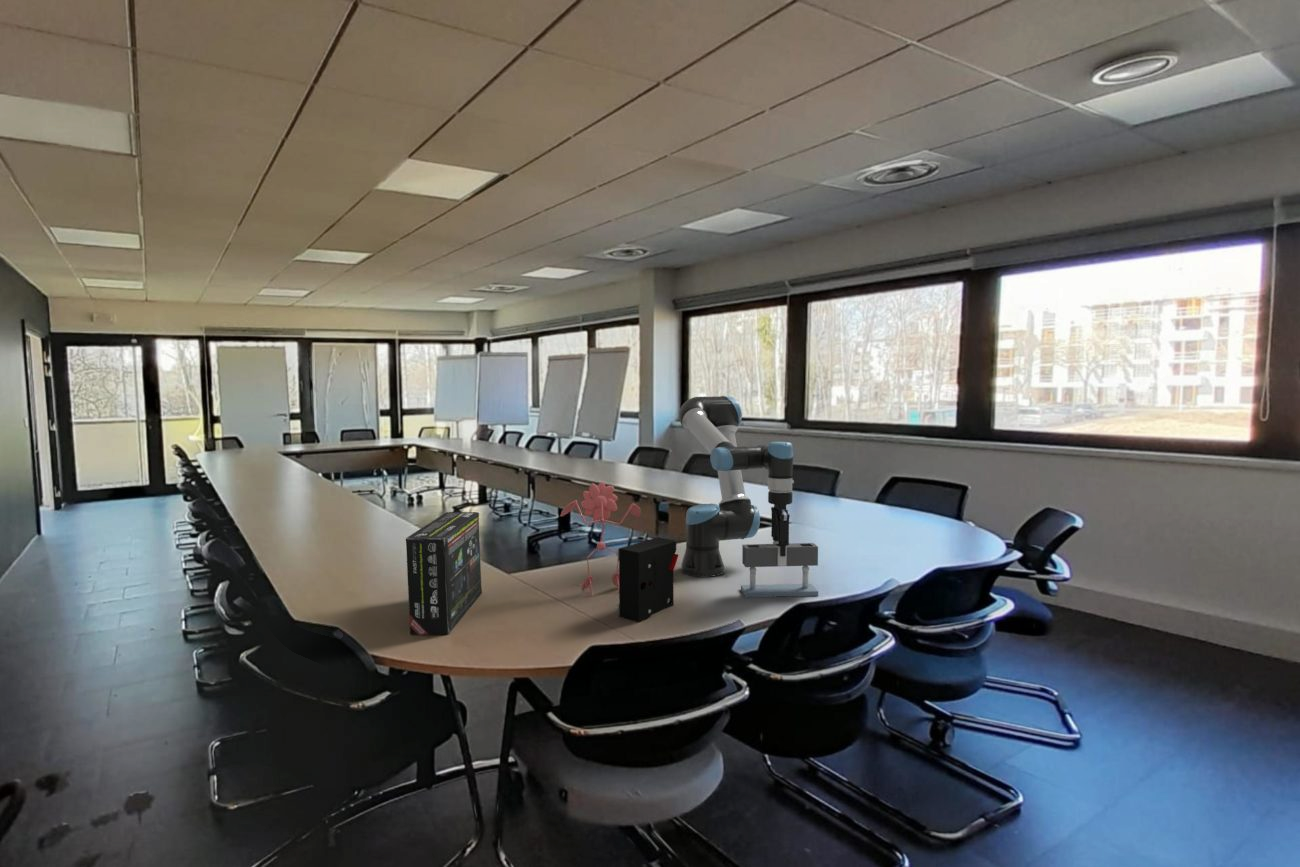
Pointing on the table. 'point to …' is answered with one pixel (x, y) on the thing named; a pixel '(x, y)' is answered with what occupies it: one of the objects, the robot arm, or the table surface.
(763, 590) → the mounting plate
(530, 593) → the table surface
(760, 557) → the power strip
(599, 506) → the pink flower figurine
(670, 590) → the electrical component
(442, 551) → the router box
